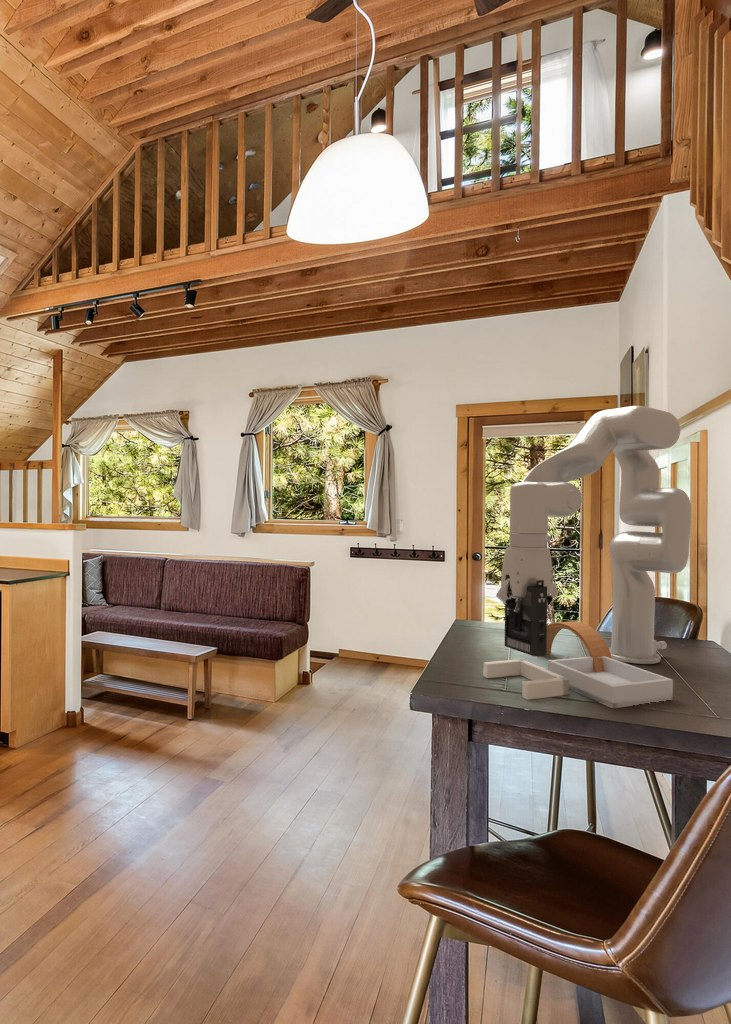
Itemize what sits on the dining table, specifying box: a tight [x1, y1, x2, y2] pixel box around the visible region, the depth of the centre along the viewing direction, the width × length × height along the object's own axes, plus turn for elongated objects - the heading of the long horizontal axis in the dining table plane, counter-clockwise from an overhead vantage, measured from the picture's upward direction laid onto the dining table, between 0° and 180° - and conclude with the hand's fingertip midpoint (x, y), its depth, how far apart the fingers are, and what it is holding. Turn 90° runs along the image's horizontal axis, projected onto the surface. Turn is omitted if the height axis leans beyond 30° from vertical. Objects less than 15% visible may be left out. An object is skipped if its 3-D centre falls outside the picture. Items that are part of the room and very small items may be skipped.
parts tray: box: [546, 655, 674, 710], centre depth 110 cm, size 15×18×4 cm
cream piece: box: [482, 658, 570, 701], centre depth 111 cm, size 10×15×3 cm, turn 21°
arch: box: [546, 620, 612, 672], centre depth 128 cm, size 6×20×10 cm, turn 25°
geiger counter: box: [504, 580, 548, 657], centre depth 111 cm, size 10×4×15 cm, turn 28°
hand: (527, 628), depth 111 cm, fingers closed on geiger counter, 5 cm apart
